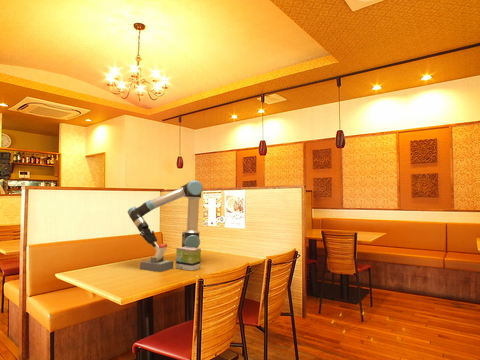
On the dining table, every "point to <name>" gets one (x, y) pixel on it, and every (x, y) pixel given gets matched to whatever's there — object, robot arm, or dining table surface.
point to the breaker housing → (156, 265)
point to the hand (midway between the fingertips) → (158, 250)
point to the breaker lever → (160, 252)
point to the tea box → (188, 258)
